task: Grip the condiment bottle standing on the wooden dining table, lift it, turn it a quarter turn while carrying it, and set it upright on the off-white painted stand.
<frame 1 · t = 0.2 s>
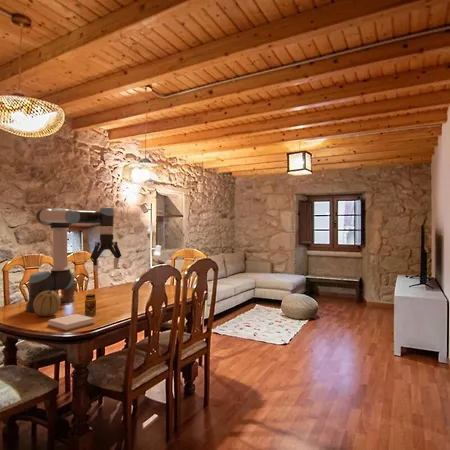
hand: (106, 270, 205), 27 cm above the table, tool pointing down, fingers open, 13 cm apart
stand: (71, 324, 186), on the table
condiment: (89, 315, 208), on the table
cantaloupe: (46, 316, 205), on the table
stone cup: (68, 301, 247), on the table
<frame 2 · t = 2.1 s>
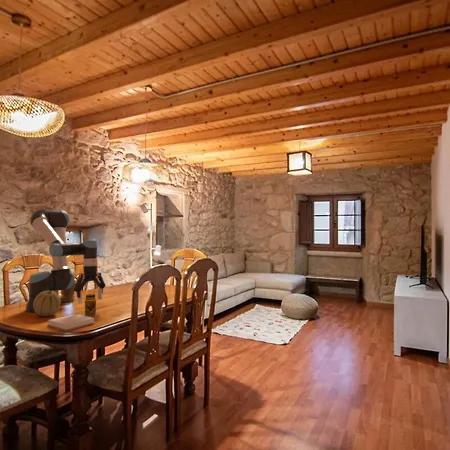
hand: (90, 301, 208), 8 cm above the table, tool pointing down, fingers open, 13 cm apart
nothing on the table moved.
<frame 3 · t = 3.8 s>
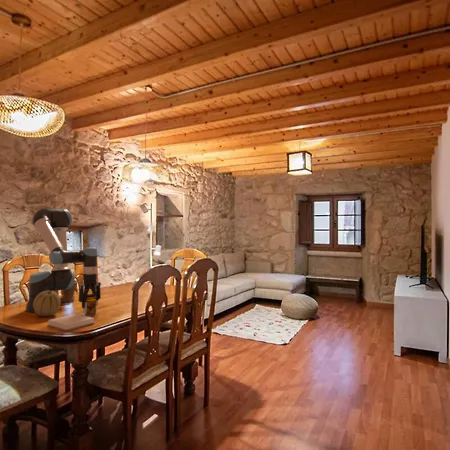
hand: (89, 312, 208), 1 cm above the table, tool pointing down, fingers closed on condiment, 6 cm apart
condiment: (89, 314, 208), on the table, touching gripper
everything else where it was.
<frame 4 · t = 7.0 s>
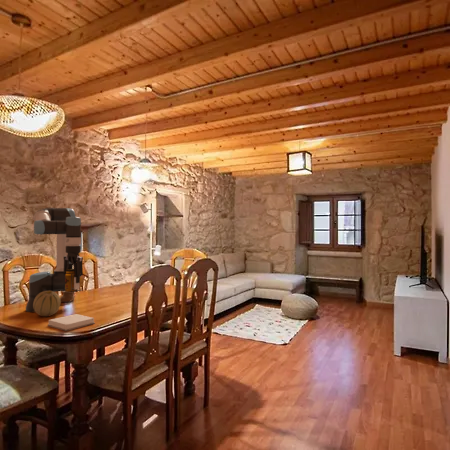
hand: (72, 288, 187), 19 cm above the table, tool pointing down, fingers closed on condiment, 6 cm apart
condiment: (73, 291, 187), point 17 cm above the table, touching gripper
everything else where it was.
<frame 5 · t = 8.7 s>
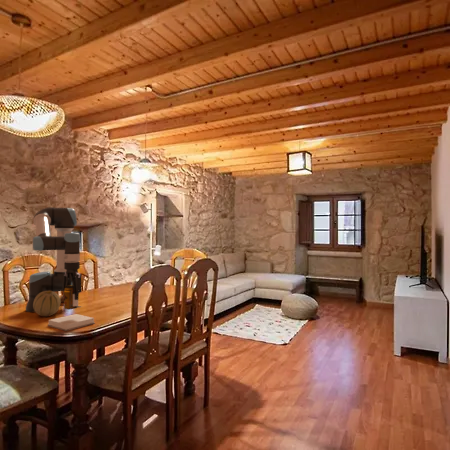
hand: (71, 305, 186), 10 cm above the table, tool pointing down, fingers closed on condiment, 6 cm apart
condiment: (71, 308, 186), point 9 cm above the table, touching gripper
everything else where it was.
when the fingers open (6 cm above the table, at t = 10.3 s): condiment drops 1 cm, resting on stand.
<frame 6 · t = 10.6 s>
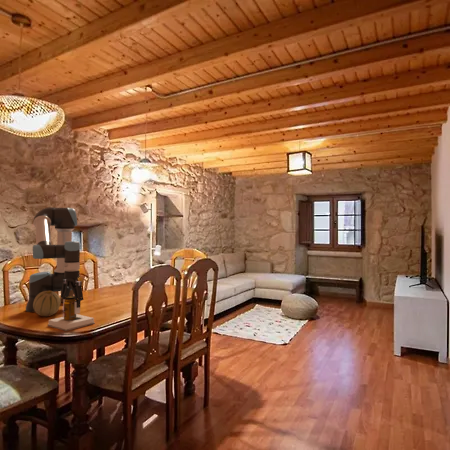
hand: (71, 312, 186), 7 cm above the table, tool pointing down, fingers open, 9 cm apart
condiment: (71, 319, 186), point 3 cm above the table, touching stand
everything else where it was.
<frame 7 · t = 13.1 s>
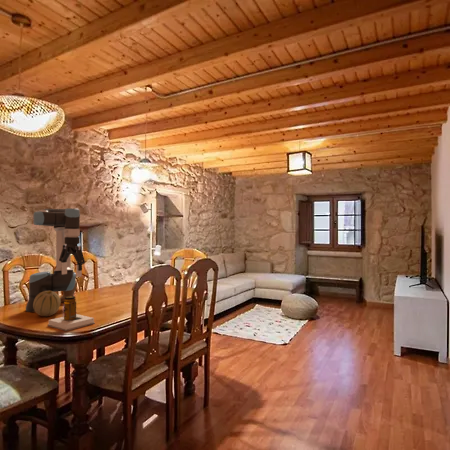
hand: (71, 275, 191), 26 cm above the table, tool pointing down, fingers open, 13 cm apart
nothing on the table moved.
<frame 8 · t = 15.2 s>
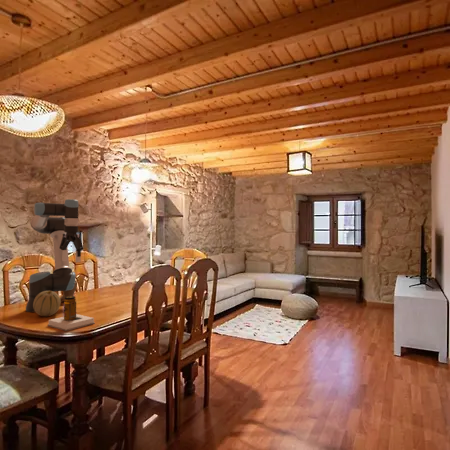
hand: (71, 261, 206), 32 cm above the table, tool pointing down, fingers open, 13 cm apart
nothing on the table moved.
at the end: condiment inside the target area on the stand (0.1 cm from its centre), point 2.8 cm above the stand's base; condiment tilted 0°; the gripper is holding nothing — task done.
